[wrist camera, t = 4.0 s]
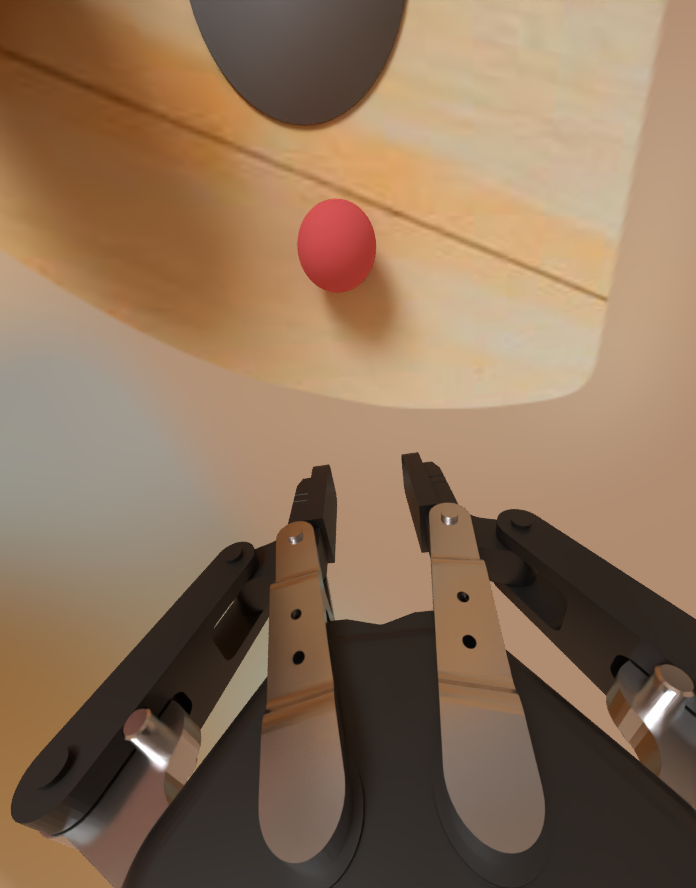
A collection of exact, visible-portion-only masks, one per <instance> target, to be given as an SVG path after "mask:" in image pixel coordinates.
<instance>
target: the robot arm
mask: <svg viewBox="0 0 696 888" xmlns="http://www.w3.org/2000/svg"><path fill="white" fill-rule="evenodd" d="M402 469H403V480H404V489H405V494H406V498H407V502H408V505H409V509H410V512H411V516H412V520H413V523H414V527H415V530H416V534H417V537H418V541H419V544H420V548H421V552H422V553H423V552H429V555H430V558H431V575H432V594H433V611H425V612H415V613H412V614H409V615H407V616H404V617H401V618H399V619H396V620H394V621H391V622H388V623H386V624H382V625H378V624H372V623H365V622H360V621H354V620H348V619H346V620H336V621H335V618H334V612H333V606H332V600H331V595H330V589H329V583H328V578H327V563H334V562H335V544H336V519H337V518H336V517H337V498H336V491H335V487H334V482H333V478H332V473H331V469H330V466H329V465H323V466H315V467H313V469H312V475H311V478H307V479H303V480H302V481H301V482H300V483H299V485H298V486H297V489H296V493H295V497H294V502H293V505H292V510H291V514H290V518H289V522H288V525H287V526H285V527H284V528H282V529H281V530H280V531H279V533H278V534H277V537H276V541H274V542H272V543H270V544H267V545H265V546H262V547H259V548H257V549H254V547H253V545H252V544H250V543H248V542H238V543H234V544H232V545H230V546H228V547H226V548H225V549H224V550H222V552H220V553H219V555H218V556H217V557H216V558H215V559H214V560H213V561H212V562H211V564H210V565H209V566H208V567H207V568H206V569H205V570H204V571H203V572H202V573H201V575H200V576H199V577H198V578H197V579H196V580H195V581H194V582H193V583H192V585H191V586H190V587H189V588H188V589H187V590H186V591H185V592H184V593H183V595H182V596H181V597H180V598H179V599H178V600H177V601H176V602H175V603H174V605H173V606H172V607H171V608H170V609H169V610H168V611H167V612H166V614H165V615H164V616H163V617H162V618H161V619H160V620H159V621H158V623H156V625H155V626H154V627H153V628H152V629H151V630H150V632H148V634H147V635H146V636H145V637H144V638H143V639H142V640H141V641H140V643H139V644H138V645H137V646H136V647H135V648H134V649H133V650H132V651H131V652H130V653H129V655H128V656H127V657H126V658H125V659H124V660H123V661H122V662H121V663H120V665H119V666H118V667H117V668H116V669H115V670H114V671H113V672H112V673H111V675H110V676H109V677H108V678H107V679H106V680H105V681H104V683H103V684H102V685H101V686H100V687H99V688H98V689H97V690H96V691H95V692H94V694H93V695H92V696H91V697H90V698H89V699H88V700H87V701H86V702H85V704H84V705H83V706H82V707H81V708H80V709H79V711H77V712H76V714H75V715H74V716H73V717H72V718H71V719H70V720H69V721H68V723H67V724H66V725H65V726H64V727H63V728H62V729H61V730H60V731H59V732H58V734H57V735H56V736H55V737H54V738H53V739H52V740H51V741H50V742H49V744H48V745H47V746H46V747H45V748H44V749H43V750H42V751H41V752H40V754H39V755H38V756H37V757H36V758H35V760H34V761H33V762H32V763H31V765H30V766H29V767H28V769H27V770H26V772H25V773H24V775H23V776H22V778H21V780H20V782H19V784H18V786H17V788H16V790H15V793H14V796H13V799H12V803H11V815H12V818H13V819H14V820H15V821H16V822H18V823H20V824H23V825H25V826H27V827H30V828H33V829H35V830H38V831H39V832H40V834H41V835H42V836H44V837H46V838H48V839H51V840H53V841H56V842H59V843H61V844H64V845H67V846H69V847H72V848H74V849H77V850H79V851H80V852H81V854H82V855H83V856H84V857H85V858H86V859H87V860H88V861H89V862H90V863H91V864H92V865H93V866H94V867H95V868H96V869H97V870H98V871H99V872H100V873H101V874H102V876H103V877H104V878H105V879H107V881H108V882H109V883H110V884H111V885H112V886H113V887H114V888H696V619H695V618H693V617H692V616H690V615H688V614H687V613H685V612H684V611H682V610H681V609H679V608H678V607H676V606H675V605H673V604H672V603H670V602H669V601H667V600H665V599H664V598H662V597H661V596H659V595H658V594H656V593H655V592H653V591H652V590H650V589H649V588H647V587H645V586H644V585H642V584H641V583H639V582H638V581H636V580H635V579H633V578H632V577H630V576H629V575H627V574H625V573H624V572H622V571H621V570H619V569H618V568H616V567H615V566H613V565H612V564H610V563H609V562H607V561H606V560H604V559H602V558H601V557H599V556H598V555H596V554H595V553H593V552H592V551H590V550H589V549H587V548H586V547H584V546H582V545H581V544H579V543H578V542H576V541H575V540H573V539H571V538H570V537H569V536H567V535H565V534H564V533H562V532H561V531H559V530H558V529H556V528H555V527H553V526H552V525H550V524H549V523H547V522H546V521H544V520H542V519H541V518H539V517H538V516H536V515H534V514H533V513H530V512H528V511H524V510H519V509H510V510H506V511H503V512H502V513H500V514H499V516H498V518H497V520H495V519H486V518H479V517H475V516H472V515H470V514H469V512H468V511H467V510H466V509H465V508H464V507H462V506H460V505H458V503H457V501H456V499H455V497H454V495H453V493H452V491H451V489H450V487H449V485H448V483H447V482H446V479H445V477H444V475H443V473H442V471H441V469H440V467H438V466H437V465H435V464H434V463H433V462H425V463H423V462H422V460H421V458H420V455H419V453H418V452H417V453H409V454H402ZM490 581H492V582H494V584H495V585H496V586H497V588H498V589H499V590H501V592H502V593H503V594H504V595H505V596H506V597H507V598H508V599H510V600H511V602H512V603H514V604H515V605H516V606H517V607H518V608H519V609H520V610H521V611H522V612H523V613H524V614H525V615H526V616H527V617H528V618H529V619H530V620H531V621H532V622H533V623H534V624H535V625H536V626H537V627H538V628H539V629H540V630H541V631H542V632H543V633H544V634H545V635H546V636H547V637H548V638H549V639H550V640H551V641H552V642H553V643H554V644H555V645H556V646H557V647H558V648H559V649H560V650H561V651H562V652H563V653H564V654H565V655H566V656H567V657H568V658H569V659H570V660H571V661H572V662H573V663H574V664H575V665H576V666H577V667H578V668H579V669H580V670H581V671H582V672H583V673H584V674H585V675H586V676H587V677H588V678H589V679H590V680H591V681H592V682H593V683H594V684H595V685H596V686H597V687H598V688H599V689H600V690H601V691H602V692H603V693H604V694H605V695H606V704H607V709H608V711H609V714H610V716H611V718H612V720H613V722H614V723H615V725H616V726H617V728H618V729H619V730H620V732H621V733H622V735H623V737H624V738H625V739H626V740H627V742H628V743H629V744H631V746H632V747H633V749H634V751H635V752H636V754H637V756H638V758H639V760H637V759H636V758H635V757H634V756H632V755H631V754H630V753H629V752H628V751H627V750H625V749H624V748H623V747H622V746H620V745H619V744H618V743H617V742H616V741H615V740H613V739H612V738H611V737H610V736H609V735H607V734H606V733H605V732H604V731H603V730H601V729H600V728H599V727H598V726H597V725H595V724H594V723H593V722H592V721H591V720H589V719H588V718H587V717H586V716H584V715H583V714H582V713H581V712H580V711H579V710H577V709H576V708H575V707H574V706H573V705H571V704H570V703H569V702H568V701H567V700H566V699H564V698H563V697H562V696H561V695H560V694H558V693H557V692H556V691H555V690H554V689H552V688H551V687H550V686H549V685H548V684H546V683H545V682H544V681H543V680H542V679H541V678H539V677H538V676H537V675H536V674H535V673H533V672H532V671H531V670H530V669H529V668H527V667H526V666H525V665H524V664H522V663H521V662H520V661H519V660H518V659H517V658H515V657H514V656H513V655H512V654H511V653H509V652H508V651H507V650H506V649H505V645H504V641H503V637H502V632H501V629H500V624H499V620H498V615H497V611H496V607H495V603H494V598H493V595H492V590H491V586H490ZM233 601H234V602H233ZM232 602H233V604H232V605H231V606H230V608H229V609H228V610H227V608H228V607H229V605H230V604H231V603H232ZM226 610H227V612H226V613H225V614H224V612H225V611H226ZM223 614H224V616H223V617H222V615H223ZM221 617H222V619H221V620H220V621H219V619H220V618H221ZM268 617H269V644H268V676H267V678H266V679H265V680H264V681H263V683H262V684H261V686H260V687H259V688H258V689H257V691H256V692H255V693H254V695H253V696H252V697H251V698H250V700H249V701H248V703H247V704H246V705H245V706H244V708H243V709H242V711H241V712H240V713H239V714H238V716H237V717H236V718H235V719H234V721H233V722H232V723H231V725H230V726H229V727H228V729H227V730H226V731H225V733H224V734H223V735H222V737H221V738H220V739H219V740H218V742H217V743H216V744H215V746H214V747H213V748H212V750H211V751H210V752H209V754H208V755H207V756H206V758H205V759H204V760H203V761H202V763H201V764H200V765H199V767H198V768H197V769H196V771H195V772H194V773H193V771H194V769H195V767H196V764H197V756H198V753H199V749H200V745H201V731H200V730H201V728H202V726H203V725H204V723H205V721H206V720H207V718H208V716H209V715H210V713H211V712H212V710H213V708H214V707H215V705H216V703H217V702H218V700H219V698H220V697H221V695H222V693H223V691H224V690H225V688H226V687H227V685H228V683H229V682H230V680H231V678H232V677H233V675H234V673H235V672H236V670H237V668H238V667H239V665H240V664H241V662H242V660H243V659H244V657H245V655H246V654H247V652H248V650H249V649H250V647H251V645H252V644H253V642H254V640H255V639H256V637H257V636H258V634H259V632H260V631H261V629H262V627H263V626H264V624H265V622H266V621H267V619H268ZM218 621H219V623H218V624H217V626H216V627H215V625H216V623H217V622H218ZM214 627H215V628H214ZM192 773H193V775H192V776H191V777H190V778H189V780H188V781H187V779H188V777H189V776H190V775H191V774H192Z"/></svg>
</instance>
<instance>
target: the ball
mask: <svg viewBox="0 0 696 888" xmlns="http://www.w3.org/2000/svg"><path fill="white" fill-rule="evenodd" d="M375 254H376V239H375V234H374V230H373V227H372V225H371V222H370V221H369V219H368V217H367V216H366V214H365V213H364V212H363V211H362V210H361V209H360V208H359V207H358V206H357V205H355V204H353V203H352V202H349V201H347V200H343V199H329V200H325V201H323V202H321V203H319V204H317V205H316V206H314V207H313V208H312V209H311V210H310V211H309V213H308V214H307V215H306V217H305V218H304V220H303V222H302V224H301V227H300V230H299V235H298V255H299V259H300V262H301V265H302V268H303V269H304V271H305V273H306V275H307V276H308V277H309V278H310V280H311V281H312V282H313V283H315V284H316V285H317V286H318V287H320V288H322V289H324V290H326V291H330V292H338V293H339V292H345V291H349V290H351V289H353V288H355V287H357V286H358V285H359V284H361V283H362V282H363V281H364V279H365V278H366V277H367V276H368V274H369V272H370V270H371V268H372V266H373V263H374V259H375Z"/></svg>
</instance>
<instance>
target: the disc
mask: <svg viewBox="0 0 696 888" xmlns="http://www.w3.org/2000/svg"><path fill="white" fill-rule="evenodd" d="M190 3H191V6H192V10H193V13H194V16H195V19H196V21H197V24H198V26H199V29H200V32H201V34H202V37H203V39H204V41H205V43H206V45H207V47H208V49H209V51H210V53H211V55H212V56H213V58H214V60H215V61H216V63H217V65H218V66H219V68H220V69H221V71H222V73H223V74H224V75H225V77H226V78H227V79H228V81H229V82H230V83H231V85H232V86H233V87H234V88H235V89H236V90H237V91H238V92H239V93H240V95H241V96H242V97H243V98H244V99H245V100H247V101H248V102H249V103H250V104H251V105H253V106H254V107H255V108H256V109H258V110H259V111H261V112H263V113H264V114H266V115H268V116H269V117H272V118H274V119H276V120H279V121H281V122H285V123H290V124H294V125H312V124H319V123H323V122H326V121H329V120H332V119H333V118H335V117H337V116H339V115H341V114H343V113H344V112H346V111H347V110H348V109H350V108H351V107H352V106H354V105H355V104H356V103H357V102H358V101H359V100H360V99H361V98H362V97H363V96H364V95H365V93H366V92H367V91H368V90H369V88H370V87H371V86H372V84H373V83H374V82H375V80H376V78H377V77H378V75H379V73H380V72H381V70H382V68H383V66H384V64H385V62H386V60H387V58H388V56H389V53H390V51H391V49H392V46H393V43H394V40H395V37H396V34H397V31H398V27H399V23H400V20H401V16H402V12H403V6H404V0H190Z"/></svg>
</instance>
